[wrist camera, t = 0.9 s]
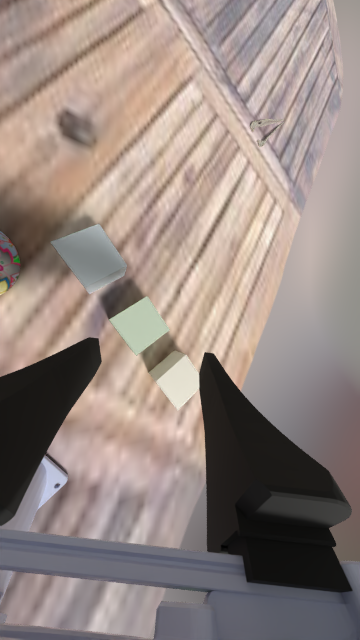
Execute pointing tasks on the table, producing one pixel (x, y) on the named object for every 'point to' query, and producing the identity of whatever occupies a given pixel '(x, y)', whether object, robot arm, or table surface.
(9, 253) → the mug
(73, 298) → the table surface
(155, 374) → the block cream
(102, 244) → the block bluegrey
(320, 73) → the table surface
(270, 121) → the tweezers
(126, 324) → the block sage
